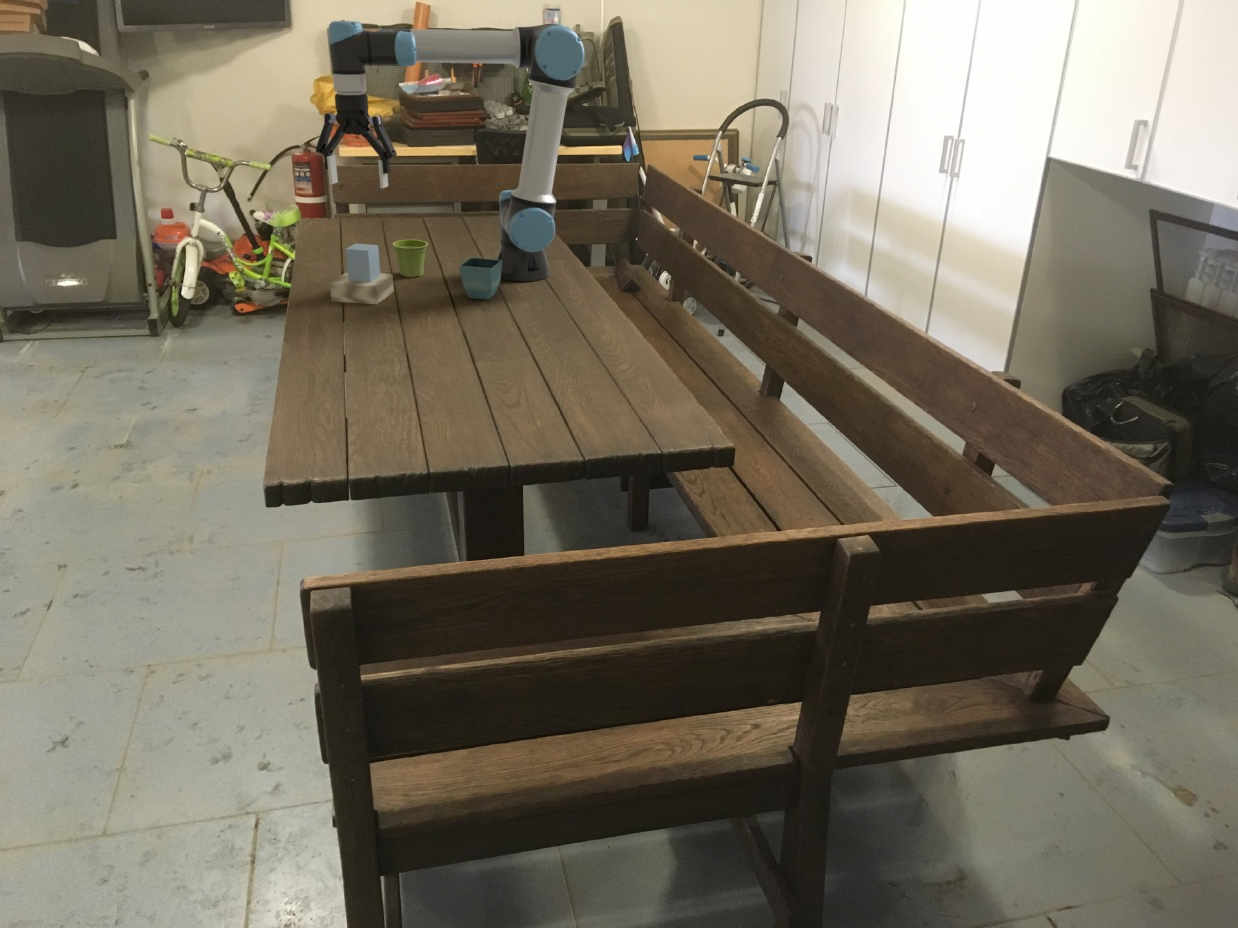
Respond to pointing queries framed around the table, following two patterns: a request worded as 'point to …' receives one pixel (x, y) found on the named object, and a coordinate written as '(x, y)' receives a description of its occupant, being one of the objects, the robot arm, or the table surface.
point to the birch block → (361, 289)
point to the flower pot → (480, 277)
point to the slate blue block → (363, 262)
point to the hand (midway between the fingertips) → (358, 185)
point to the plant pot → (410, 257)
